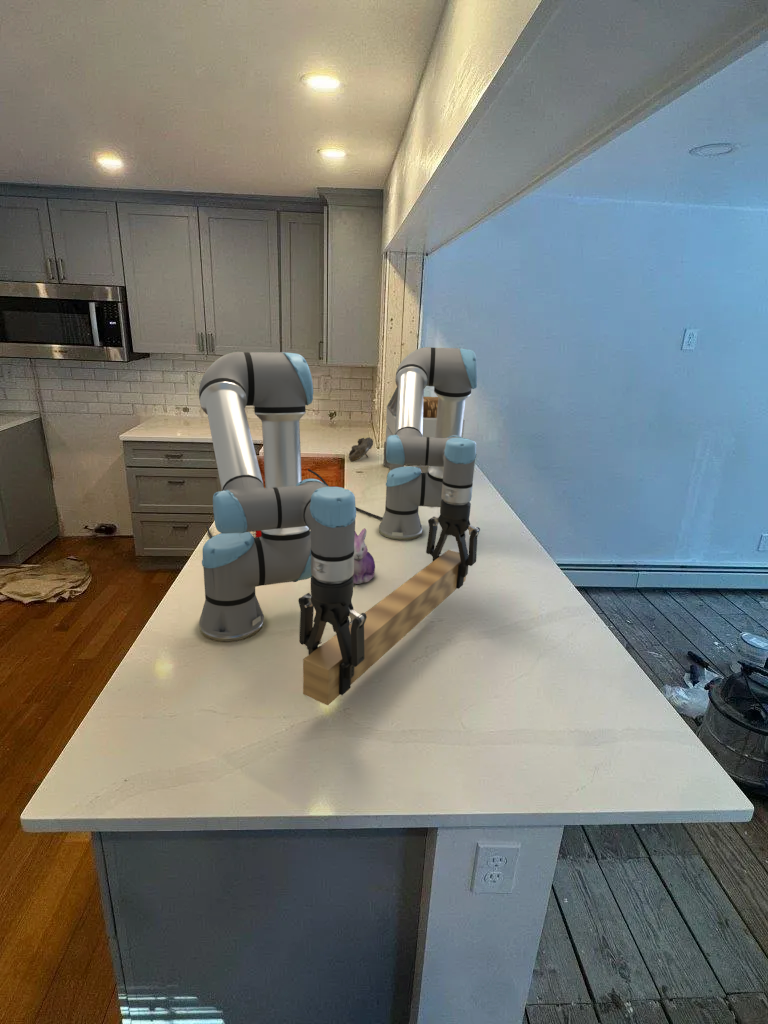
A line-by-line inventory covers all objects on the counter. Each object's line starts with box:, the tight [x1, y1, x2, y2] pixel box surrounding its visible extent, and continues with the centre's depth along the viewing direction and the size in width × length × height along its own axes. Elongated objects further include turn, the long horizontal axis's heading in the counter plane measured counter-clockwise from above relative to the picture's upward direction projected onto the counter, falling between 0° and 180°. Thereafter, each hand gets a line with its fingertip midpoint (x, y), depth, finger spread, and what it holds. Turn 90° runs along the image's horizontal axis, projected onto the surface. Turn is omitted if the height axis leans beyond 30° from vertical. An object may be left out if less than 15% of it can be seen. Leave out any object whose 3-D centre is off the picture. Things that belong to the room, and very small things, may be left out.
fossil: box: [348, 436, 374, 462], centre depth 297 cm, size 22×10×15 cm
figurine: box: [353, 527, 376, 585], centre depth 163 cm, size 9×10×15 cm
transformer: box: [383, 386, 465, 472], centre depth 268 cm, size 34×33×41 cm
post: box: [302, 549, 467, 706], centre depth 128 cm, size 62×6×8 cm, turn 149°
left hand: (330, 684), depth 108 cm, fingers closed on post, 6 cm apart
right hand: (448, 582), depth 150 cm, fingers closed on post, 6 cm apart
